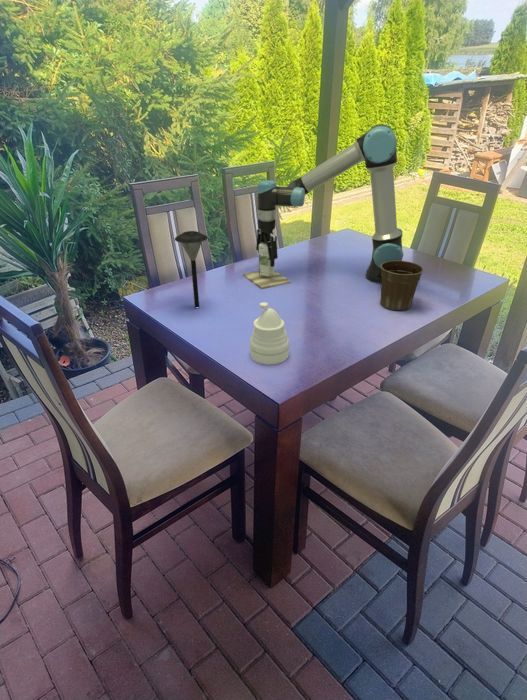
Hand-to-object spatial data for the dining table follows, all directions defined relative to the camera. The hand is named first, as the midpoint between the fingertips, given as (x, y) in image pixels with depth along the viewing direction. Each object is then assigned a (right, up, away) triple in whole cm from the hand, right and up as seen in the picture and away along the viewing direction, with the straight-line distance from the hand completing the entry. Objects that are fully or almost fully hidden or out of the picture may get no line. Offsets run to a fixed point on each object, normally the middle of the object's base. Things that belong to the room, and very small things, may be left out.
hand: (266, 269), depth 202 cm
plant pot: (+52, -18, -21) cm, 59 cm away
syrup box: (0, -2, +1) cm, 2 cm away
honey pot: (0, -38, -54) cm, 66 cm away
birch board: (0, -4, +2) cm, 5 cm away
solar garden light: (-28, -20, -23) cm, 41 cm away
